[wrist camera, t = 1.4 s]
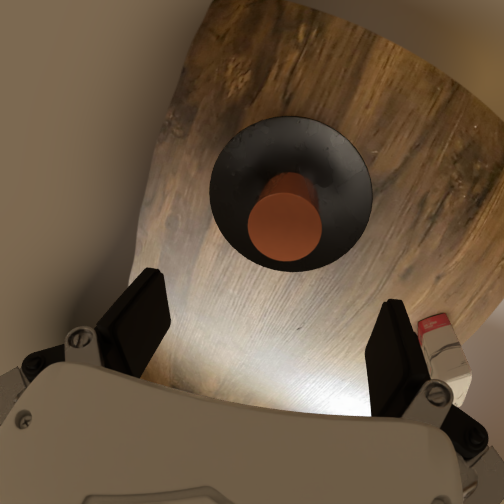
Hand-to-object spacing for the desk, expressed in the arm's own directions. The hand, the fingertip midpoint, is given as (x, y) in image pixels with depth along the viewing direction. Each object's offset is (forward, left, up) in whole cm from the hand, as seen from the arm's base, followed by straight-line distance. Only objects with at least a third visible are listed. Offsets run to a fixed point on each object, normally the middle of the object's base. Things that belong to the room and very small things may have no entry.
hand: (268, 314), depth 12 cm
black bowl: (0, 0, -21) cm, 21 cm away
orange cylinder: (0, 0, -14) cm, 14 cm away
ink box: (+20, +24, -21) cm, 37 cm away
